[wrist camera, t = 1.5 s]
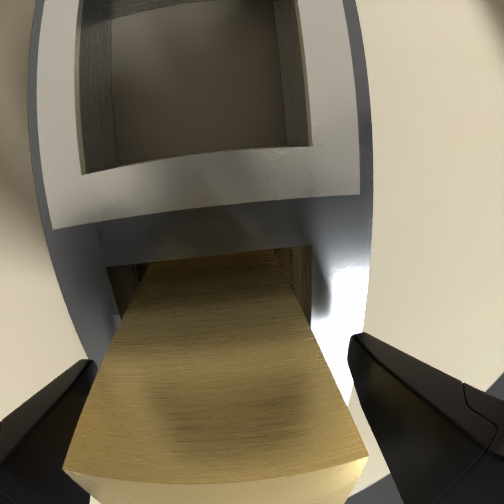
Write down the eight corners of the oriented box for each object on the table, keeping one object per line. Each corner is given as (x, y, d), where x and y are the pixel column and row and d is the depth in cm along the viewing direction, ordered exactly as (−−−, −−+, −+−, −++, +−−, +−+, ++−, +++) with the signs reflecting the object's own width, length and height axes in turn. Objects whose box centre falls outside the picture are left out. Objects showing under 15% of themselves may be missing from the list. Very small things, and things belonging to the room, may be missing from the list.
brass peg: (269, 243, 10) (369, 456, 3) (274, 337, 12) (329, 527, 4) (154, 255, 10) (62, 469, 2) (176, 347, 11) (154, 539, 4)
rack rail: (312, -41, 6) (337, -79, 4) (316, 456, 16) (326, 489, 13) (73, -11, 6) (41, -40, 3) (180, 470, 15) (179, 504, 12)
